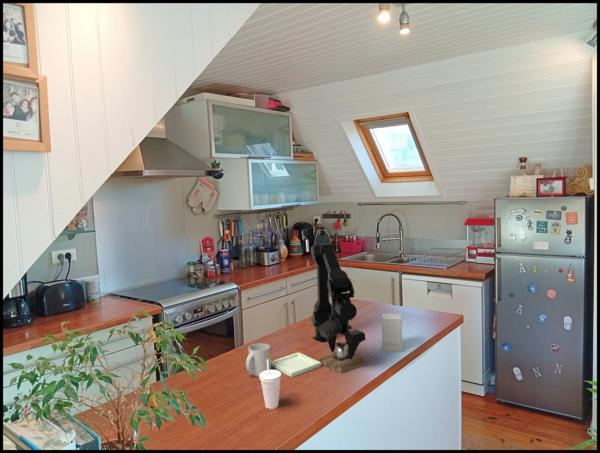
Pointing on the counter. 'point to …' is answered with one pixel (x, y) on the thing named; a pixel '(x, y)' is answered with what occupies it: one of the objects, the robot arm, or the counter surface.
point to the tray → (295, 364)
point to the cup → (258, 358)
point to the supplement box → (391, 333)
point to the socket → (341, 362)
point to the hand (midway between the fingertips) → (341, 355)
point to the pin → (341, 351)
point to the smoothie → (270, 386)
